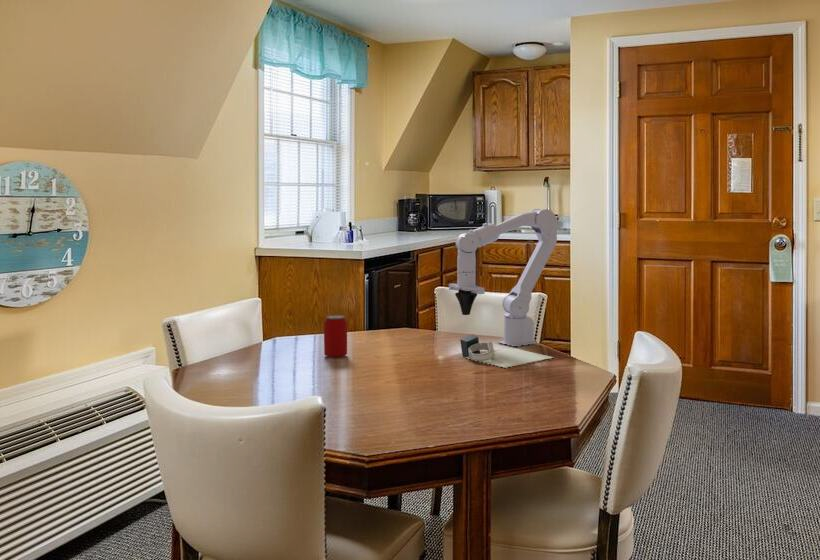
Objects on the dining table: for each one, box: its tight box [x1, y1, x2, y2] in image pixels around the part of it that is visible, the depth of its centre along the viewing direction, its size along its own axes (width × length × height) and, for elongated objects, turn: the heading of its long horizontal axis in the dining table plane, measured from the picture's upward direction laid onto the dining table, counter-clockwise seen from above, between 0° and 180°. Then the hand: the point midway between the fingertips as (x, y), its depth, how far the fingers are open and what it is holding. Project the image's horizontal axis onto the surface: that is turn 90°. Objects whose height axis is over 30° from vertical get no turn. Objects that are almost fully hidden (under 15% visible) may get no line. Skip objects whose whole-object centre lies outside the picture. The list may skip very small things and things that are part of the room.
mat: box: [465, 348, 554, 369], centre depth 214 cm, size 20×16×1 cm
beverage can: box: [323, 314, 348, 359], centre depth 217 cm, size 7×7×12 cm
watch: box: [459, 334, 495, 362], centre depth 214 cm, size 6×8×11 cm
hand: (466, 314), depth 232 cm, fingers closed
